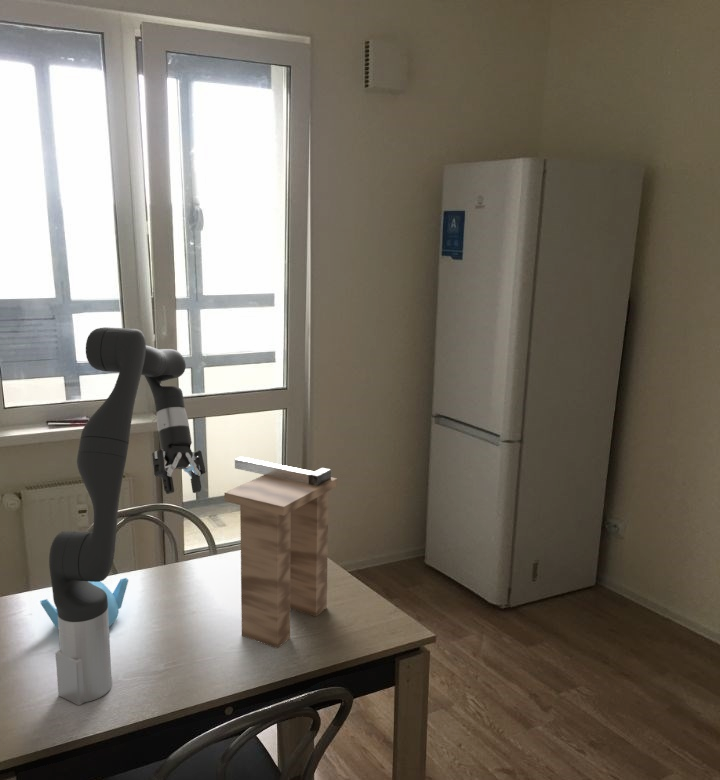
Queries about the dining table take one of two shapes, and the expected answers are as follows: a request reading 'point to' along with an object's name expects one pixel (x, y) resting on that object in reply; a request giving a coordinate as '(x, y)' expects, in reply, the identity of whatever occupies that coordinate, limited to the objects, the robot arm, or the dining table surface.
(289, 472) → the crook tool
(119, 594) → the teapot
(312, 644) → the dining table surface
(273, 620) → the shelf
